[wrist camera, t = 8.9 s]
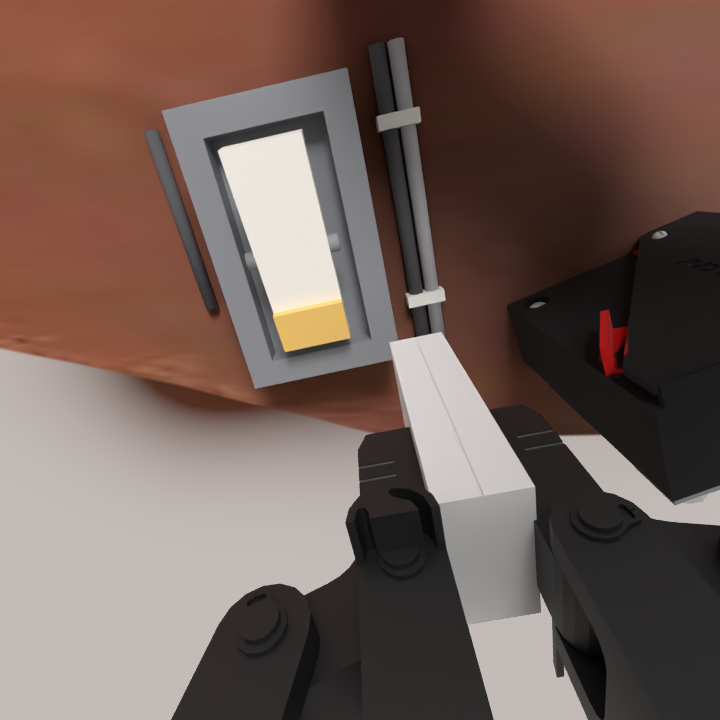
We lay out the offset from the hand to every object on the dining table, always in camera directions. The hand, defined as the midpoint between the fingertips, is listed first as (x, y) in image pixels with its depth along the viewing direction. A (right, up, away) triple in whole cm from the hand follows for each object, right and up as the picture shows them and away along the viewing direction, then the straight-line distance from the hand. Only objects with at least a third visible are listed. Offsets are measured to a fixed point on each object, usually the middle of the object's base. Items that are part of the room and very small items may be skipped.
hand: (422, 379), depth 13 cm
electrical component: (+21, +6, +27) cm, 35 cm away
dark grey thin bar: (-16, +12, +23) cm, 30 cm away
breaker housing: (-7, +11, +24) cm, 27 cm away
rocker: (-6, +8, +17) cm, 20 cm away
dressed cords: (+3, +13, +23) cm, 27 cm away
